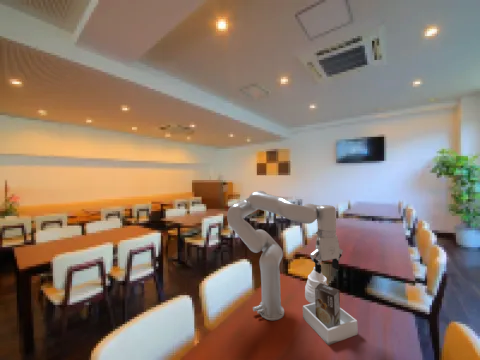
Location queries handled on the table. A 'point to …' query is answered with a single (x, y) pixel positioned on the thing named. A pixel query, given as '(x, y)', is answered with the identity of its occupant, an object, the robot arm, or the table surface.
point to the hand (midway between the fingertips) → (326, 270)
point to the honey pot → (313, 285)
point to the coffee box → (327, 305)
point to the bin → (334, 333)
